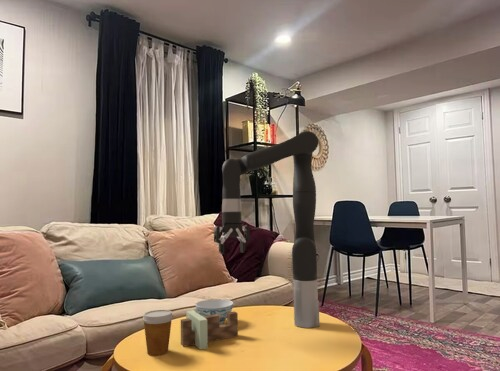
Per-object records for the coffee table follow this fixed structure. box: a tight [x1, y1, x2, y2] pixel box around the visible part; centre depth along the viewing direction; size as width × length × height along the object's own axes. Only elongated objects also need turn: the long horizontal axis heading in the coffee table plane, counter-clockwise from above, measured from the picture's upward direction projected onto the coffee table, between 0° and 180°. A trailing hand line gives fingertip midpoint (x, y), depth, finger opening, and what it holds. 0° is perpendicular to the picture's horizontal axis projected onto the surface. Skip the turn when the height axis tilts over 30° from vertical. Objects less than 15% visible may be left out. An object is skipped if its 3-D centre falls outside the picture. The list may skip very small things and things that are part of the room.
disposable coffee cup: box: [142, 309, 174, 357], centre depth 117 cm, size 10×10×12 cm
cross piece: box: [185, 309, 209, 350], centre depth 125 cm, size 14×2×9 cm, turn 28°
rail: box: [180, 310, 239, 347], centre depth 127 cm, size 20×2×8 cm, turn 118°
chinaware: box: [195, 298, 234, 325], centre depth 147 cm, size 15×15×8 cm
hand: (232, 253), depth 142 cm, fingers open, 8 cm apart
